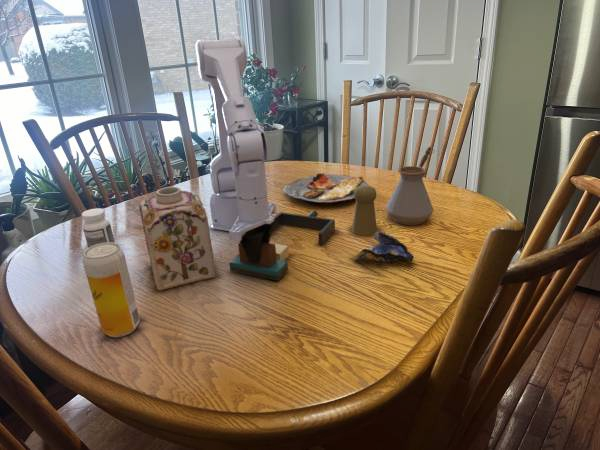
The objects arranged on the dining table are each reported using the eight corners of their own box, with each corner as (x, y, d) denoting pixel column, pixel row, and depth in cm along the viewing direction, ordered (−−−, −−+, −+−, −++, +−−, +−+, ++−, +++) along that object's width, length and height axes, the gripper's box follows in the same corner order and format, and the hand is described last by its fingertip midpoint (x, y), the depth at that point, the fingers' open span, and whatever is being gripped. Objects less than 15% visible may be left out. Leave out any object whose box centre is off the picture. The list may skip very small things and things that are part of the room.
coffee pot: (424, 231, 103) (429, 170, 97) (378, 223, 109) (380, 165, 102) (447, 202, 119) (453, 148, 113) (406, 195, 125) (410, 144, 119)
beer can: (109, 318, 77) (88, 242, 71) (144, 315, 77) (126, 239, 71) (97, 341, 71) (74, 260, 65) (135, 337, 72) (115, 257, 66)
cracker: (259, 260, 94) (258, 250, 93) (268, 252, 97) (267, 242, 96) (280, 264, 92) (279, 254, 91) (288, 255, 95) (288, 245, 94)
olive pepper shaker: (376, 236, 102) (377, 192, 97) (350, 235, 103) (350, 191, 99) (377, 225, 107) (379, 183, 103) (353, 224, 109) (353, 182, 104)
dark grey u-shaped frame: (264, 236, 105) (263, 224, 104) (289, 215, 116) (288, 204, 115) (321, 245, 99) (321, 233, 98) (342, 222, 110) (341, 211, 109)
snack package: (361, 243, 99) (347, 266, 89) (367, 217, 97) (353, 238, 87) (414, 258, 96) (405, 284, 86) (421, 232, 93) (413, 256, 83)
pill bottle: (104, 244, 105) (94, 205, 100) (121, 248, 102) (112, 209, 98) (84, 254, 100) (73, 215, 96) (102, 259, 97) (91, 218, 93)
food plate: (317, 176, 145) (317, 165, 144) (381, 187, 132) (381, 176, 131) (270, 199, 127) (269, 188, 126) (338, 215, 114) (338, 202, 113)
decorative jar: (150, 265, 94) (134, 186, 86) (204, 253, 98) (193, 176, 90) (157, 293, 84) (139, 206, 76) (217, 278, 88) (205, 194, 80)
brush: (230, 270, 89) (226, 244, 87) (241, 260, 93) (239, 235, 90) (277, 280, 85) (275, 253, 82) (288, 269, 89) (286, 243, 86)
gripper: (250, 211, 75) (257, 279, 80) (288, 184, 86) (291, 245, 92) (216, 206, 77) (224, 272, 83) (257, 181, 89) (262, 240, 95)
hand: (257, 258), depth 88 cm, fingers closed on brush, 2 cm apart
